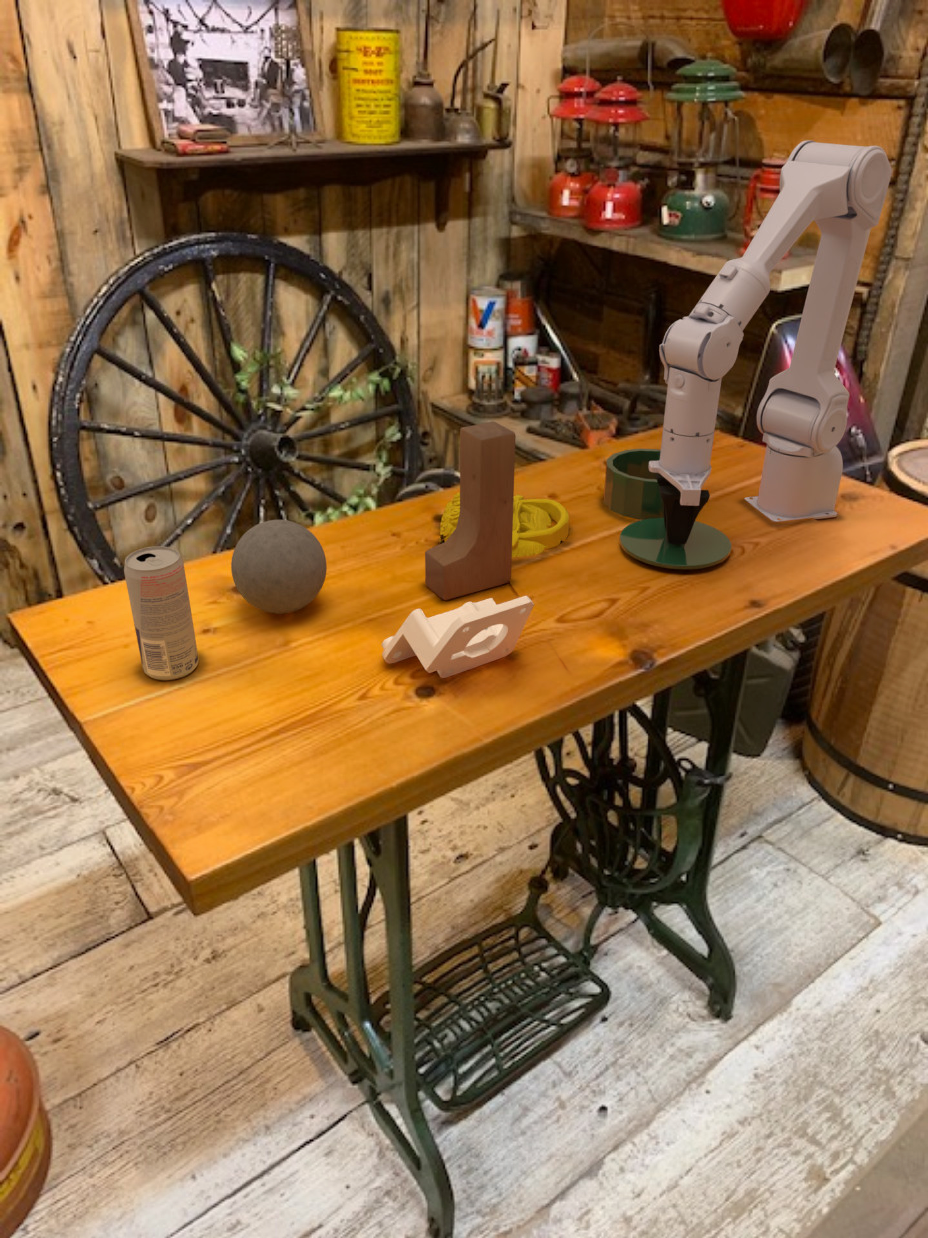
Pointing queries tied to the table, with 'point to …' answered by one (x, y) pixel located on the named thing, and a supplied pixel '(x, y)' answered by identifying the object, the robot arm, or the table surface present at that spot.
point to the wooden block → (478, 517)
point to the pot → (633, 484)
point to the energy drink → (161, 612)
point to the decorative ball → (278, 566)
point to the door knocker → (521, 524)
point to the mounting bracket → (460, 636)
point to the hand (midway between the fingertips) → (675, 537)
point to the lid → (674, 545)
